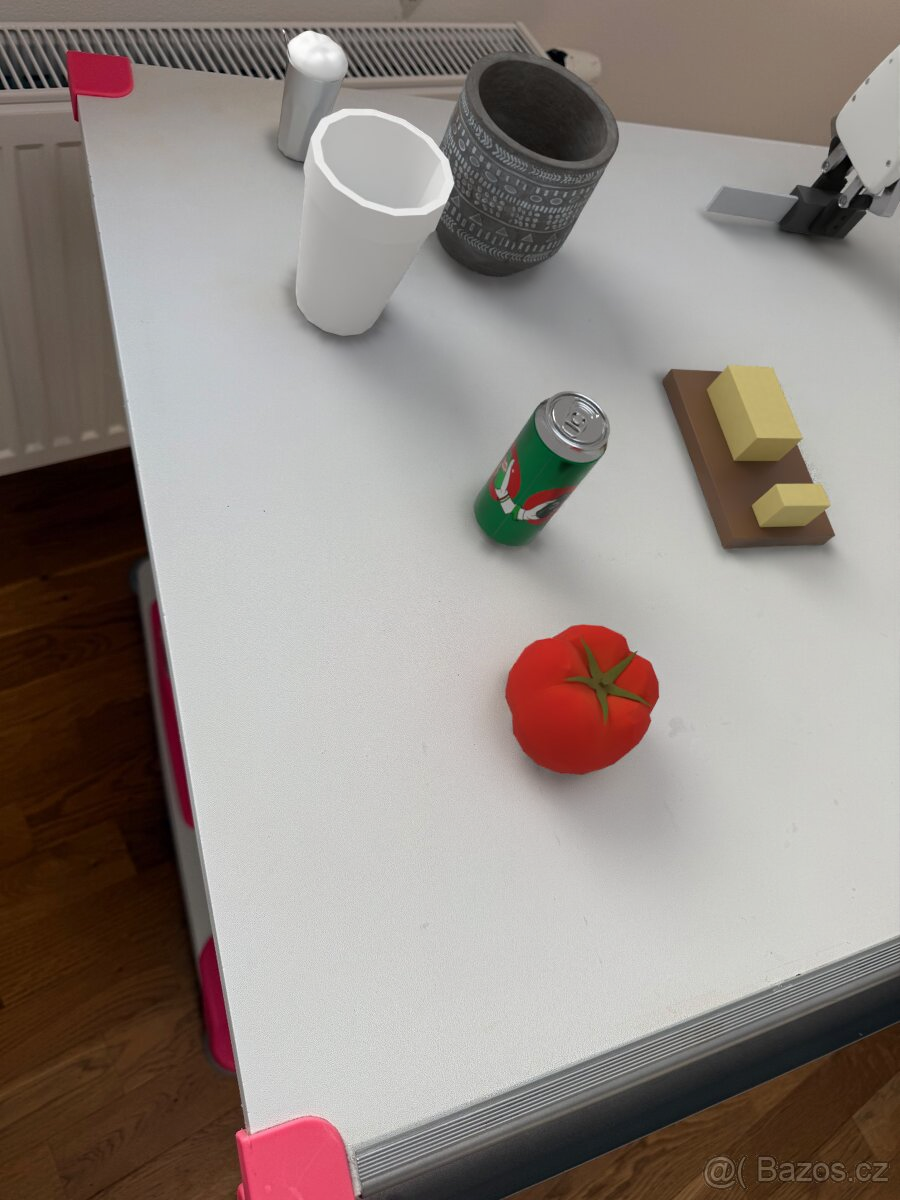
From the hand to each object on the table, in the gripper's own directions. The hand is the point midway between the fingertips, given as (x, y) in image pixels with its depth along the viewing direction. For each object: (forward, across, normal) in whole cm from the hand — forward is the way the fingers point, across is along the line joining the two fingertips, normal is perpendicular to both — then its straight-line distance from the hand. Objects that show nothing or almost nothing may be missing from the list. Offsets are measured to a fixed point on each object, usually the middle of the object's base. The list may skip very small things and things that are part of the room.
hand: (815, 220), depth 97 cm
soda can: (+1, -33, +43) cm, 54 cm away
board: (+1, -28, +20) cm, 34 cm away
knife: (+1, 0, +4) cm, 4 cm away
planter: (+1, -6, +38) cm, 38 cm away
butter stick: (0, -26, +20) cm, 32 cm away
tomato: (+1, -48, +43) cm, 64 cm away
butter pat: (0, -34, +20) cm, 39 cm away
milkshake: (+2, +2, +53) cm, 53 cm away
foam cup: (+2, -14, +52) cm, 54 cm away
